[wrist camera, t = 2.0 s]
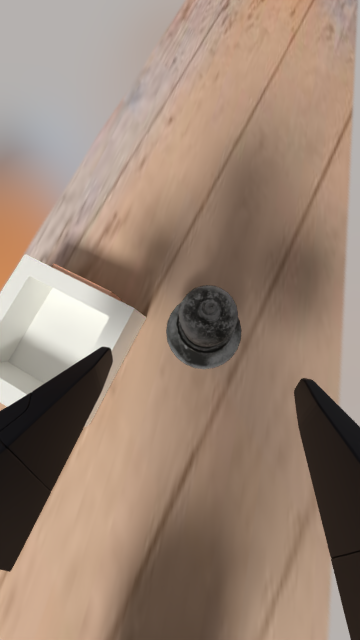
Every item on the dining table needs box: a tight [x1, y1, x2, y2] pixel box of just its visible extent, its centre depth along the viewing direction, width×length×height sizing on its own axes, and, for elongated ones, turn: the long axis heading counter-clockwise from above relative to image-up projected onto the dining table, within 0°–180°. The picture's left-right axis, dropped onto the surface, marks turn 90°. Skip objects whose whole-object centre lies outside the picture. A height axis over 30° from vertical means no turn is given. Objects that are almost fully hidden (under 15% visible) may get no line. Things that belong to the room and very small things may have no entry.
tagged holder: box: [0, 254, 146, 428], centre depth 19 cm, size 11×12×4 cm
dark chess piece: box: [166, 285, 241, 369], centre depth 14 cm, size 6×6×12 cm
